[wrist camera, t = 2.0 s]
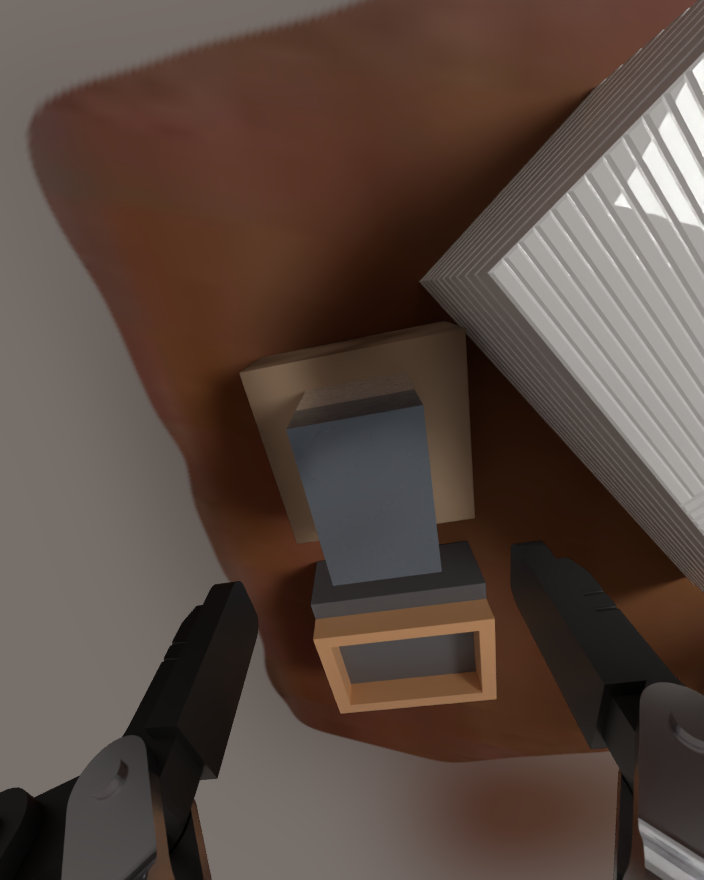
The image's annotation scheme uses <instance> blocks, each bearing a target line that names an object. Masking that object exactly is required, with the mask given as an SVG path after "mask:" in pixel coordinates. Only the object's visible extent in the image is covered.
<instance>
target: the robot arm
mask: <svg viewBox="0 0 704 880" xmlns="http://www.w3.org/2000/svg"><path fill="white" fill-rule="evenodd" d="M511 589H512V593H513V596H514V599H515V602H516V604H517V606H518V608H519V610H520V612H521V614H522V616H523V618H524V620H525V622H526V624H527V626H528V628H529V630H530V632H531V634H532V636H533V638H534V640H535V641H536V643H537V645H538V647H539V649H540V651H541V653H542V655H543V657H544V659H545V661H546V663H547V665H548V667H549V669H550V671H551V673H552V675H553V677H554V679H555V681H556V683H557V684H558V686H559V688H560V690H561V692H562V694H563V696H564V698H565V700H566V702H567V704H568V706H569V708H570V710H571V712H572V714H573V716H574V718H575V720H576V722H577V724H578V726H579V727H580V729H581V731H582V733H583V735H584V737H585V739H586V741H587V743H588V745H589V747H590V749H599V748H608V749H609V750H610V752H611V754H612V756H613V758H614V760H615V761H616V763H617V765H618V767H619V772H618V788H617V808H616V828H615V848H614V867H613V880H704V696H703V695H702V694H700V693H698V692H696V691H694V690H692V689H690V688H687V687H685V686H684V685H683V684H682V683H681V682H680V681H679V680H678V679H677V678H676V677H675V676H674V675H673V674H672V672H671V671H670V670H669V669H668V668H667V666H666V665H665V664H664V663H663V662H662V660H661V659H660V658H659V657H658V655H657V654H656V653H655V652H654V651H653V649H652V648H651V647H650V646H649V645H648V643H647V642H646V641H645V640H644V639H643V637H642V636H641V635H640V634H639V632H638V631H637V630H636V629H635V628H634V626H633V625H632V624H631V623H630V622H629V620H628V619H627V618H626V617H625V615H624V614H623V613H622V612H621V611H620V609H617V607H616V605H615V603H614V602H613V601H612V600H611V598H610V597H609V596H608V595H607V594H606V593H604V591H603V589H602V588H601V586H600V585H599V584H598V583H597V581H596V580H595V579H594V578H593V577H592V575H591V574H590V573H589V572H588V571H587V570H585V569H584V568H583V567H581V566H580V565H578V564H577V563H575V562H574V561H572V560H571V559H569V558H568V557H566V558H559V559H556V558H555V556H554V555H553V554H552V552H551V551H550V550H549V548H548V547H547V546H546V544H545V543H544V542H542V541H540V540H539V541H531V542H524V543H517V544H512V546H511ZM257 634H258V617H257V614H256V611H255V609H254V607H253V605H252V603H251V600H250V598H249V596H248V594H247V592H246V590H245V587H244V585H243V584H242V582H240V581H237V582H229V583H222V584H215V585H214V586H212V588H211V590H210V591H209V593H208V595H207V597H206V599H205V602H204V604H203V605H199V606H196V607H195V609H194V610H193V611H192V612H191V613H190V614H189V615H188V617H187V618H186V619H185V620H184V621H183V622H182V624H181V626H180V628H179V630H178V632H177V633H176V636H175V637H174V639H173V642H172V646H170V647H169V649H168V651H167V653H166V655H165V657H164V662H162V663H161V665H160V666H159V669H158V670H157V672H156V674H155V676H154V678H153V680H152V682H151V684H150V686H149V688H148V690H147V692H146V694H145V696H144V698H143V700H142V701H141V703H140V705H139V707H138V709H137V711H136V713H135V715H134V717H133V719H132V721H131V723H130V725H129V726H128V728H127V730H126V732H125V733H124V735H123V736H122V737H121V738H119V739H117V740H115V741H113V742H112V743H110V744H109V745H107V746H106V747H105V748H104V749H102V750H101V751H100V752H99V753H98V754H97V755H96V756H95V757H94V758H93V759H92V760H91V762H90V763H89V764H88V765H87V767H86V768H85V769H84V771H83V772H82V773H81V775H80V776H78V777H76V778H74V779H72V780H70V781H67V782H65V783H63V784H61V785H59V786H57V787H55V788H53V789H51V790H49V791H47V792H45V793H43V794H40V795H38V796H36V797H33V796H31V795H30V794H29V793H27V792H26V791H25V790H23V789H21V788H11V789H7V790H5V791H3V792H0V880H212V879H211V874H210V869H209V864H208V860H207V854H206V849H205V844H204V840H203V834H202V829H201V825H200V820H199V815H198V810H197V805H196V802H195V800H194V797H195V794H196V790H197V787H198V784H199V781H200V780H207V779H217V778H218V774H219V771H220V767H221V764H222V760H223V756H224V753H225V749H226V746H227V742H228V739H229V735H230V732H231V728H232V724H233V721H234V717H235V714H236V710H237V706H238V703H239V699H240V696H241V692H242V689H243V685H244V681H245V678H246V674H247V671H248V667H249V663H250V660H251V656H252V653H253V649H254V645H255V642H256V639H257Z"/></svg>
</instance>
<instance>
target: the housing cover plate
mask: <svg viewBox="0 0 704 880" xmlns="http://www.w3.org/2000/svg"><path fill="white" fill-rule="evenodd" d="M286 431H287V434H288V438H289V441H290V444H291V448H292V451H293V454H294V457H295V461H296V464H297V467H298V471H299V474H300V477H301V481H302V484H303V487H304V491H305V494H306V497H307V501H308V504H309V507H310V511H311V514H312V517H313V520H314V524H315V527H316V530H317V534H318V537H319V540H320V544H321V547H322V550H323V554H324V557H325V560H326V564H327V567H328V570H329V574H330V577H331V580H332V583H333V586H336V585H343V584H351V583H359V582H367V581H374V580H382V579H390V578H397V577H405V576H413V575H420V574H428V573H436V572H442V569H441V560H440V551H439V542H438V533H437V524H436V515H435V506H434V497H433V487H432V478H431V469H430V460H429V451H428V442H427V433H426V424H425V415H424V406H423V403H422V402H421V400H420V398H419V396H418V395H417V393H416V391H415V389H413V390H407V391H402V392H396V393H391V394H385V395H380V396H374V397H369V398H364V399H358V400H353V401H347V402H342V403H336V404H331V405H325V406H320V407H314V408H309V409H303V410H298V411H295V413H294V415H293V417H292V419H291V421H290V423H289V425H288V427H287V428H286Z"/></svg>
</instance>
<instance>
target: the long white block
mask: <svg viewBox="0 0 704 880" xmlns="http://www.w3.org/2000/svg"><path fill="white" fill-rule="evenodd" d="M419 283H420V284H421V285H422V286H423V287H424V288H425V289H426V290H427V291H428V293H429V294H430V295H431V296H432V297H433V298H434V299H435V300H436V301H437V302H438V304H439V305H440V306H441V307H442V308H443V309H444V310H445V311H446V312H447V314H448V315H449V316H450V317H451V318H452V319H453V320H454V321H455V322H456V323H457V325H458V326H460V327H463V328H465V331H466V335H467V336H468V337H469V338H470V339H471V340H472V341H473V342H474V343H475V344H476V346H477V347H478V348H479V349H480V350H481V351H482V352H483V353H484V354H485V356H486V357H487V358H488V359H489V360H490V361H491V362H492V363H493V364H494V365H495V367H496V368H497V369H498V370H499V371H500V372H501V373H502V374H503V375H504V377H505V378H506V379H507V380H508V381H509V382H510V383H511V384H512V385H513V386H514V388H515V389H516V390H517V391H518V392H519V393H520V394H521V395H522V396H523V398H524V399H525V400H526V401H527V402H528V403H529V404H530V405H531V406H532V407H533V409H534V410H535V411H536V412H537V413H538V414H539V415H540V416H541V417H542V419H543V420H544V421H545V422H546V423H547V424H548V425H549V426H550V427H551V428H552V430H553V431H554V432H555V433H556V434H557V435H558V436H559V437H560V438H561V440H562V441H563V442H564V443H565V444H566V445H567V446H568V447H569V448H570V450H571V451H572V452H573V453H574V454H575V455H576V456H577V457H578V458H579V459H580V461H581V462H582V463H583V464H584V465H585V466H586V467H587V468H588V469H589V471H590V472H591V473H592V474H593V475H594V476H595V477H596V478H597V479H598V480H599V482H600V483H601V484H602V485H603V486H604V487H605V488H606V489H607V490H608V492H609V493H610V494H611V495H612V496H613V497H614V498H615V499H616V500H617V501H618V503H619V504H620V505H621V506H622V507H623V508H624V509H625V510H626V511H627V513H628V514H629V515H630V516H631V517H632V518H633V519H634V520H635V521H636V522H637V524H638V525H639V526H640V527H641V528H642V529H643V530H644V531H645V532H646V534H647V535H648V536H649V537H650V538H651V539H652V540H653V541H654V542H655V543H656V545H657V546H658V547H659V548H660V549H661V550H662V551H663V552H664V553H665V555H666V556H667V557H668V558H669V559H670V560H671V561H672V562H673V563H674V564H675V566H676V567H677V568H678V569H679V570H680V571H681V572H682V573H683V574H684V576H685V577H686V578H687V579H689V580H690V581H691V582H692V583H693V584H695V585H696V586H697V587H698V588H699V589H700V590H701V591H702V592H703V593H704V0H697V1H696V2H695V3H694V4H693V6H692V7H691V8H688V9H687V10H686V11H684V12H683V13H682V14H681V15H680V16H678V17H677V18H676V19H675V20H674V21H673V22H671V23H670V24H669V25H668V26H667V28H666V29H665V30H664V29H663V30H662V31H661V32H660V33H658V34H657V35H656V36H655V37H654V38H653V39H651V40H650V41H649V42H648V43H647V44H646V45H645V46H644V47H643V48H641V49H640V50H639V51H637V52H636V53H635V54H634V55H633V56H631V57H630V58H629V59H628V60H627V61H626V62H625V63H624V64H622V65H621V66H620V67H619V68H617V69H616V70H615V71H614V72H613V73H611V74H610V75H609V76H608V78H607V79H604V80H603V81H602V82H601V83H600V84H599V85H597V86H596V87H595V88H594V89H593V91H592V92H591V93H590V94H589V95H588V96H587V97H586V98H585V99H584V100H583V102H582V103H581V104H580V105H579V106H578V107H577V108H576V109H575V110H574V111H573V113H572V114H571V115H570V116H569V117H568V118H567V119H566V120H565V121H564V122H563V124H562V125H561V126H560V127H559V128H558V129H557V130H556V131H555V132H554V133H553V135H552V136H551V137H550V138H549V139H548V140H547V141H546V142H545V143H544V144H543V146H542V147H541V148H540V149H539V150H538V151H537V152H536V153H535V154H534V155H533V157H532V158H531V159H530V160H529V161H528V162H527V163H526V164H525V165H524V166H523V168H522V169H521V170H520V171H519V172H518V173H517V174H516V175H515V176H514V177H513V179H512V180H511V181H510V182H509V183H508V184H507V185H506V186H505V187H504V189H503V190H502V191H501V192H500V193H499V194H498V195H497V196H496V197H495V198H494V200H493V201H492V202H491V203H490V204H489V205H488V206H487V207H486V208H485V209H484V211H483V212H482V213H481V214H480V215H479V216H478V217H477V218H476V219H475V220H474V222H473V223H472V224H471V225H470V226H469V227H468V228H467V229H466V230H465V231H464V233H463V234H462V235H461V236H460V237H459V238H458V239H457V240H456V241H455V242H454V244H453V245H452V246H451V247H450V248H449V249H448V250H447V251H446V252H445V253H444V255H443V256H442V257H441V258H440V259H439V260H438V261H437V262H436V263H435V264H434V266H433V267H432V268H431V269H430V270H429V271H428V272H427V273H426V274H425V275H424V277H423V278H422V279H421V280H420V281H419Z"/></svg>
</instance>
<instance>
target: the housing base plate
mask: <svg viewBox="0 0 704 880" xmlns="http://www.w3.org/2000/svg"><path fill="white" fill-rule="evenodd" d="M413 389H414V388H413V386H412V384H411V382H410V381H409V379H408V377H407V375H406V374H405V372H403V373H398V374H393V375H388V376H382V377H377V378H372V379H366V380H361V381H356V382H350V383H345V384H340V385H334V386H329V387H324V388H318V389H313V390H308V391H305V393H304V395H303V397H302V399H301V401H300V403H299V405H298V407H297V409H296V411H298V410H303V409H309V408H314V407H320V406H325V405H331V404H336V403H342V402H347V401H353V400H358V399H364V398H369V397H374V396H380V395H385V394H391V393H396V392H402V391H407V390H413Z"/></svg>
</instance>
